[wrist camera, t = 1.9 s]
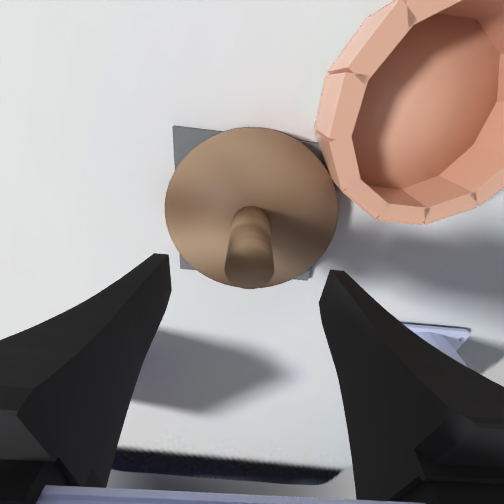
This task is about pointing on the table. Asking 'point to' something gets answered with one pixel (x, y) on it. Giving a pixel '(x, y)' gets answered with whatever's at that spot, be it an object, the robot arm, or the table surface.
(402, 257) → the table surface
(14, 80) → the table surface
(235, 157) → the lid
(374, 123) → the bowl
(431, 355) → the robot arm
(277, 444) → the table surface
